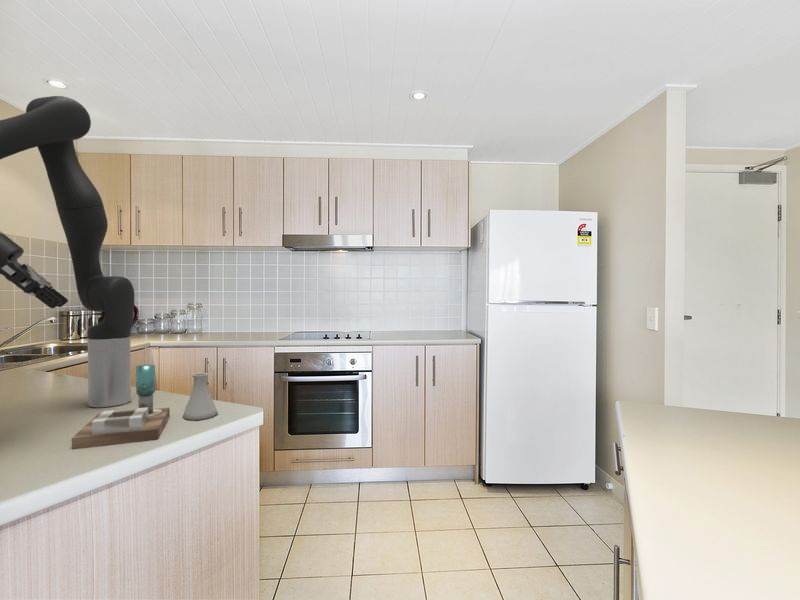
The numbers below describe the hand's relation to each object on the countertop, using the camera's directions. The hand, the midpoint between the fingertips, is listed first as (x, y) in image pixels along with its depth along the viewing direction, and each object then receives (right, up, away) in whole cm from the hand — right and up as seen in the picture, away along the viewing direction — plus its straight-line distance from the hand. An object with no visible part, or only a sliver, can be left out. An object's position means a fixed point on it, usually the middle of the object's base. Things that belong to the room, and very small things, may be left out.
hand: (61, 304), depth 85 cm
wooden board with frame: (+12, -26, +3) cm, 29 cm away
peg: (+13, -24, +7) cm, 28 cm away
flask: (+22, -27, +13) cm, 37 cm away
